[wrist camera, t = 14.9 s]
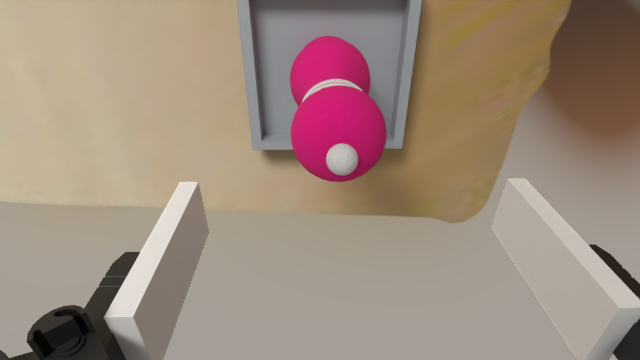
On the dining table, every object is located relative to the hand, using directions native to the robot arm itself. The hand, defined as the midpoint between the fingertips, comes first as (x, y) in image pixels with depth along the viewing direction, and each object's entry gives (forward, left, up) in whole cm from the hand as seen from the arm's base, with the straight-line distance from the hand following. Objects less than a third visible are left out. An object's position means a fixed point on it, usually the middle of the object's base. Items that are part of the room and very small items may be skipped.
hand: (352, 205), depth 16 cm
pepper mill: (0, 0, -24) cm, 24 cm away
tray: (0, 0, -25) cm, 25 cm away
